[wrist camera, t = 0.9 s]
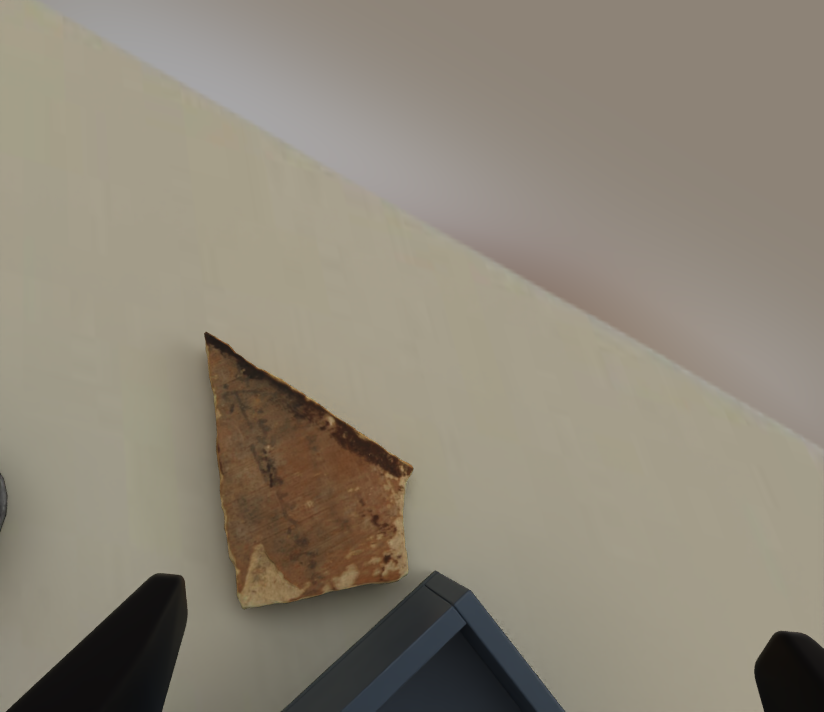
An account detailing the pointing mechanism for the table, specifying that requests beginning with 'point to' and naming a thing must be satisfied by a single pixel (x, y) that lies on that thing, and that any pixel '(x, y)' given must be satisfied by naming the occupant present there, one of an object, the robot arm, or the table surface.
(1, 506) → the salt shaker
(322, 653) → the table surface
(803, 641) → the robot arm
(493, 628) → the bin
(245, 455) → the shard
